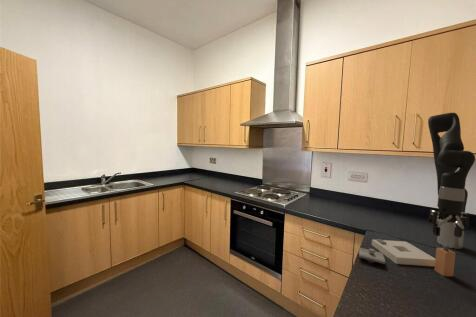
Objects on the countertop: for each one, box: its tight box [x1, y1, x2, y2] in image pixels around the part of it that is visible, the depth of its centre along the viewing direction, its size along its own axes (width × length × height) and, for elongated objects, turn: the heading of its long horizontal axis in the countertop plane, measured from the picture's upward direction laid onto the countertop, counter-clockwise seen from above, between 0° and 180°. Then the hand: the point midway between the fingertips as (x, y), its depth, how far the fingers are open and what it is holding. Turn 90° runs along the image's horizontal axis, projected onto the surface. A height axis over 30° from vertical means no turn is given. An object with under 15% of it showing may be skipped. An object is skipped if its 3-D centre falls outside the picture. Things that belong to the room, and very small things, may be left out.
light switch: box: [358, 247, 386, 265], centre depth 94 cm, size 10×10×5 cm
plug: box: [433, 245, 457, 277], centre depth 86 cm, size 4×4×12 cm
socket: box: [371, 238, 436, 267], centre depth 100 cm, size 18×18×4 cm
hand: (446, 236), depth 85 cm, fingers open, 8 cm apart
